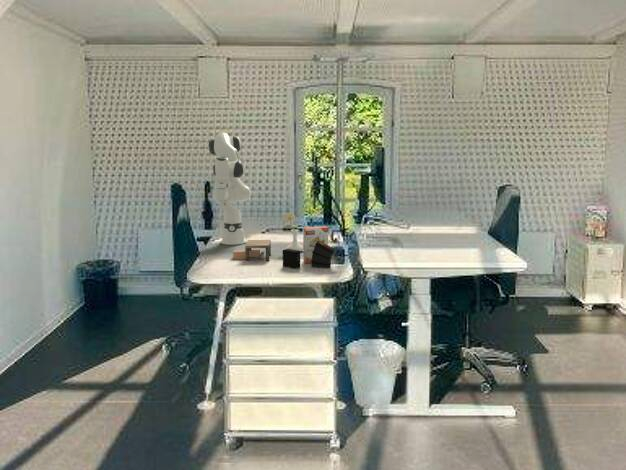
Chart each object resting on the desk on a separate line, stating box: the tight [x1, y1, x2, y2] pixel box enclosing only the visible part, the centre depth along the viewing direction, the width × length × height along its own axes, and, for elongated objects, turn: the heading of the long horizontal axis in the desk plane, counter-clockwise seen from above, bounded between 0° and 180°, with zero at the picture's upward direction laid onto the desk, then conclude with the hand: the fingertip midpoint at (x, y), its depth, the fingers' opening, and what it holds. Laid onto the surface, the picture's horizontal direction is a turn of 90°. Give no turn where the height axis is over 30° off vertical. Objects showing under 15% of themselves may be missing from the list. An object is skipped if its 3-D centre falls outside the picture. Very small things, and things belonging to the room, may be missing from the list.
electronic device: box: [282, 248, 301, 270], centre depth 391 cm, size 4×10×10 cm, turn 49°
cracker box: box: [302, 225, 329, 264], centre depth 403 cm, size 14×6×21 cm, turn 105°
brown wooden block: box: [232, 249, 261, 260], centre depth 417 cm, size 6×16×4 cm, turn 90°
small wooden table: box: [244, 239, 272, 262], centre depth 416 cm, size 19×14×10 cm
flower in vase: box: [282, 212, 303, 252], centre depth 434 cm, size 13×11×25 cm
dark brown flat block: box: [310, 241, 336, 269], centre depth 390 cm, size 4×13×15 cm, turn 75°
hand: (223, 206), depth 417 cm, fingers open, 8 cm apart
